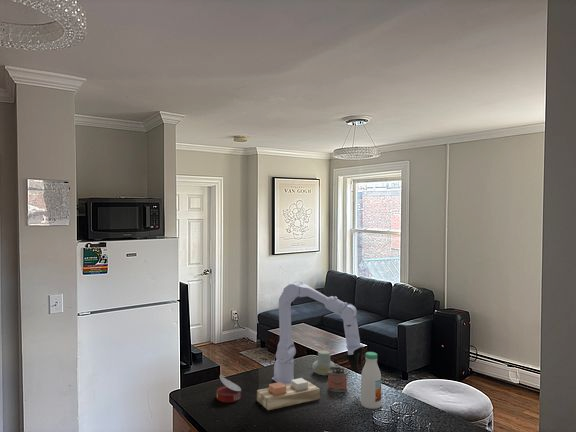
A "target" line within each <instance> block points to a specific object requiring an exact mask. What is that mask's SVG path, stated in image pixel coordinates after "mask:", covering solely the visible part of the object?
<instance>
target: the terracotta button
mask: <svg viewBox="0 0 576 432" xmlns="http://www.w3.org/2000/svg"><path fill="white" fill-rule="evenodd" d="M268 388H269V392H270V393H271V394H273V395H274V396H276V395H280V394H285V393H286V386H285V385H284V384H282V383H281V382H278V383H277V382H273V383H269V384H268Z"/></svg>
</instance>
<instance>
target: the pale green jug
mask: <svg viewBox="0 0 576 432" xmlns="http://www.w3.org/2000/svg"><path fill="white" fill-rule="evenodd" d="M330 366H335V367H337V366H336V364H335V363H334V361H332V360H331V351H329V350H323V349H322V350H319V351H317V360H315V361H314V362H313V363H312V365H311V367H312V370H313V371H314V373H315V374H317V375H319V376H321V375H322V376H323V377H326V376H328V371H333V370H330ZM334 371H336V370H334Z"/></svg>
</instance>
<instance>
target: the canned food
mask: <svg viewBox="0 0 576 432" xmlns="http://www.w3.org/2000/svg"><path fill="white" fill-rule="evenodd" d="M219 380H220V382H221V383H222V384H223V385H222V386H219V387H218V388H217V389H216V400H218V402H221V403H233V402H237V401H239V400H241V399H242V388H241V387H240V386H239V385H238V384H237V383H234V382H232V381H231V380H229V379H227V378H225V377H224V376H223V375H222V374H220V375H219Z"/></svg>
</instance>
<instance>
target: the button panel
mask: <svg viewBox="0 0 576 432" xmlns="http://www.w3.org/2000/svg"><path fill="white" fill-rule="evenodd" d="M305 380H306V381H307V382H308V389H304V390H300V391H296V390H295V389H293V388H292V387H291V384H286V385H285V386H286V393H285V394H280V395H276V396H274V395H273V394H271V393H270V392H269V387H266V388H261V389H257V390H256V401H257V402H258V403H259V404H260V405H262V406H263V408H264V409H266V410H267V411H271V410H276V409H277V410H278V409H280V408H284V407H289V406H294V405H299V404H301V403H308V402H311V401H312V402H313V401H316V400H320V399H321V397H320V396H321V393H320V392H321V388H319V387H318V386H316V385H315V384H313V383H311V382H310V381H308V380H307V379H305Z"/></svg>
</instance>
